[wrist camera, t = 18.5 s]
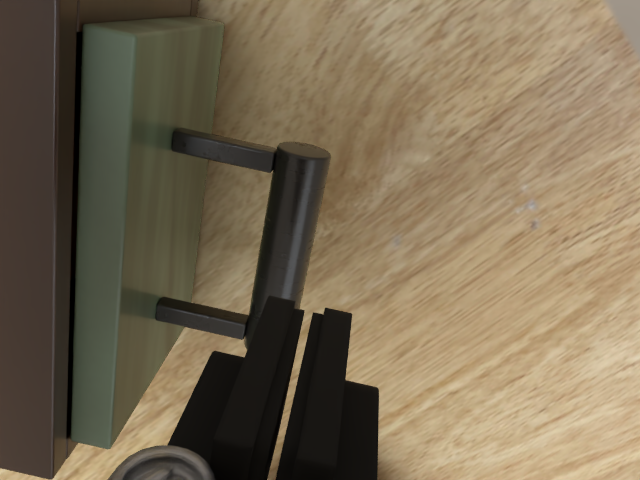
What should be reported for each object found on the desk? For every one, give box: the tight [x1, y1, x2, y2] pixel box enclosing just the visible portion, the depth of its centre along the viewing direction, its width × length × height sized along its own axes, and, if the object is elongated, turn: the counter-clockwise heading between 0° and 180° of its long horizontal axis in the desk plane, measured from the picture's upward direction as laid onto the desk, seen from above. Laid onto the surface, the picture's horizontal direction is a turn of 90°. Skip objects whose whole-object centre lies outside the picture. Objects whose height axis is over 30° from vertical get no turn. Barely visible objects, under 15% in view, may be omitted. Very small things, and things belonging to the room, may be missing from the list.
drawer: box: [68, 16, 331, 449], centre depth 18 cm, size 18×11×7 cm, turn 79°
